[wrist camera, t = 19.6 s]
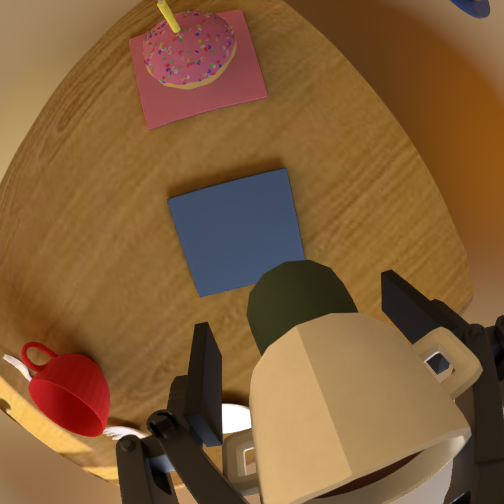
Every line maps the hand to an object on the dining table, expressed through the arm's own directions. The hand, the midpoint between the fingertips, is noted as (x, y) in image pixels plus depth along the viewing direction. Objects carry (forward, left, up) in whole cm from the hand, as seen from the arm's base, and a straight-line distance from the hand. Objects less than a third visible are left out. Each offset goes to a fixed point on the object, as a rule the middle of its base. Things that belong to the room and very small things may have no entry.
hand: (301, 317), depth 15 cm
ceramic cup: (+34, +12, -17) cm, 40 cm away
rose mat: (+3, -21, -17) cm, 27 cm away
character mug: (0, 0, -2) cm, 2 cm away
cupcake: (+3, -21, -16) cm, 27 cm away
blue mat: (+3, -1, -17) cm, 17 cm away
